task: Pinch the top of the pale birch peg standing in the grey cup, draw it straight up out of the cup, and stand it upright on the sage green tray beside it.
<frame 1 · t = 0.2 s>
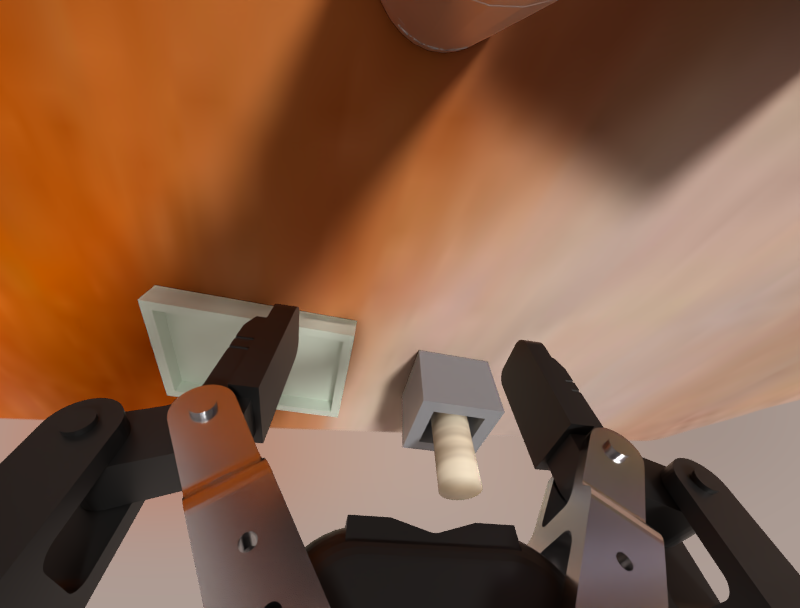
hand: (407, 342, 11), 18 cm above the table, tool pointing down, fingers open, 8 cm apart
grey cup: (442, 379, 39), on the table
sage tray: (261, 351, 35), on the table
birch peg: (450, 426, 33), in the grey cup
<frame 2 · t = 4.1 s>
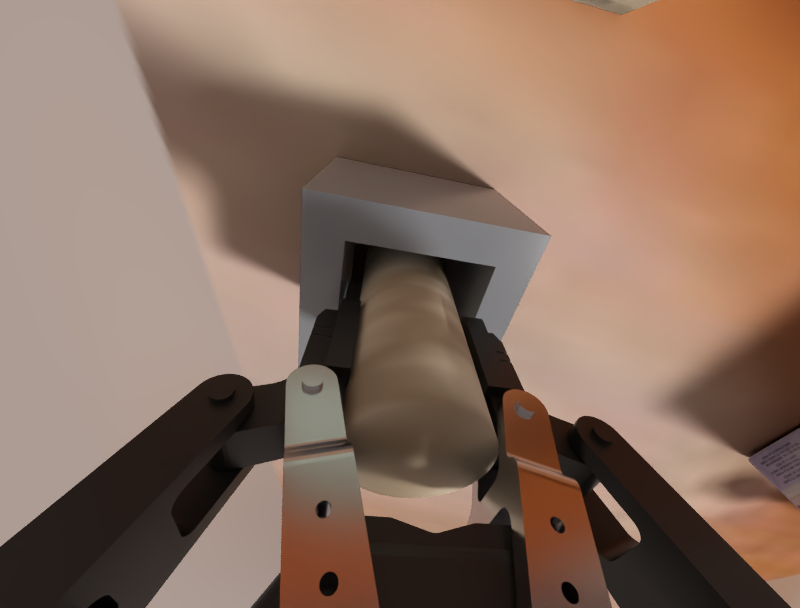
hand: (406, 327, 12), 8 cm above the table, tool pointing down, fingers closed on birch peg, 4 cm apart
grey cup: (402, 248, 18), on the table
birch peg: (406, 309, 13), in the grey cup, touching gripper
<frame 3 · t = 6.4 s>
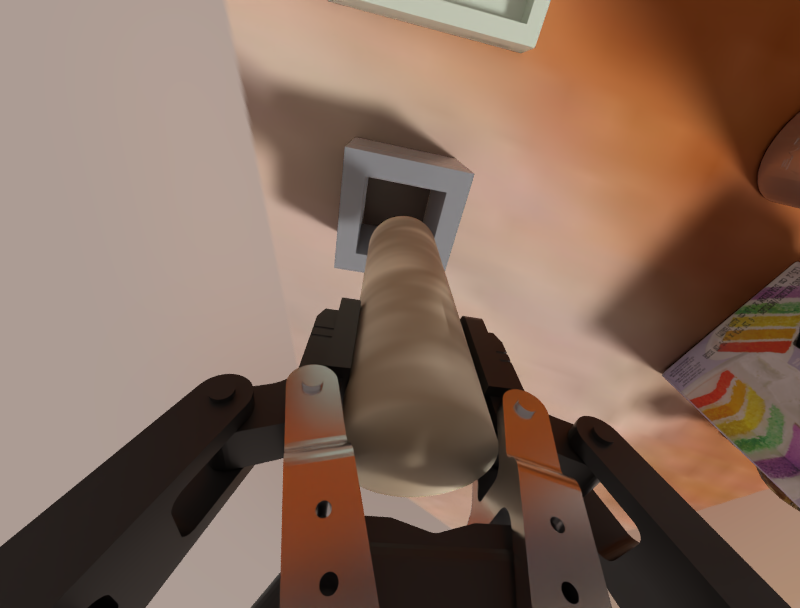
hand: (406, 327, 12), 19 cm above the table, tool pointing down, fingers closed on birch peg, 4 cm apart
cake pan box: (732, 323, 37), on the table
grey cup: (397, 199, 28), on the table
birch peg: (406, 309, 13), point 18 cm above the table, touching gripper
wooden mug: (740, 423, 49), on the table
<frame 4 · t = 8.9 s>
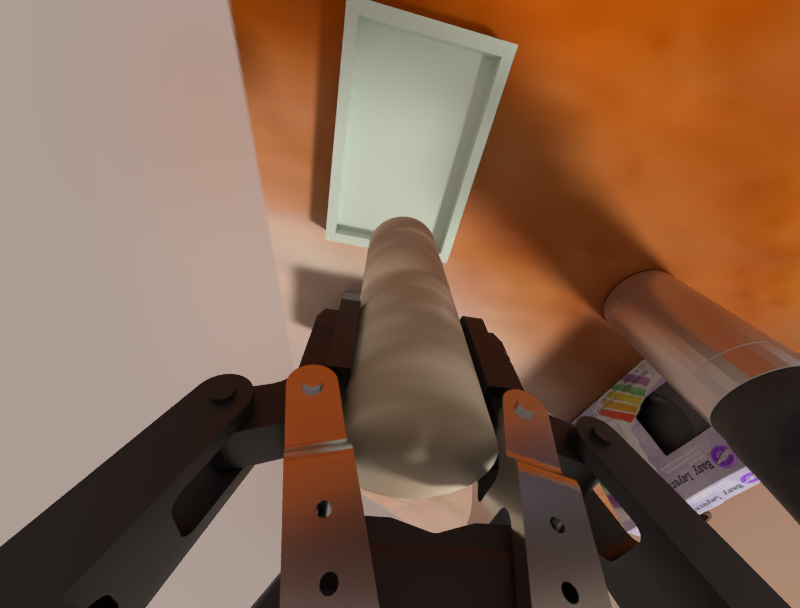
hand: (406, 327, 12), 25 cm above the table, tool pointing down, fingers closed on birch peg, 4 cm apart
cake pan box: (612, 393, 53), on the table
sage tray: (406, 153, 31), on the table
birch peg: (406, 310, 13), point 24 cm above the table, touching gripper
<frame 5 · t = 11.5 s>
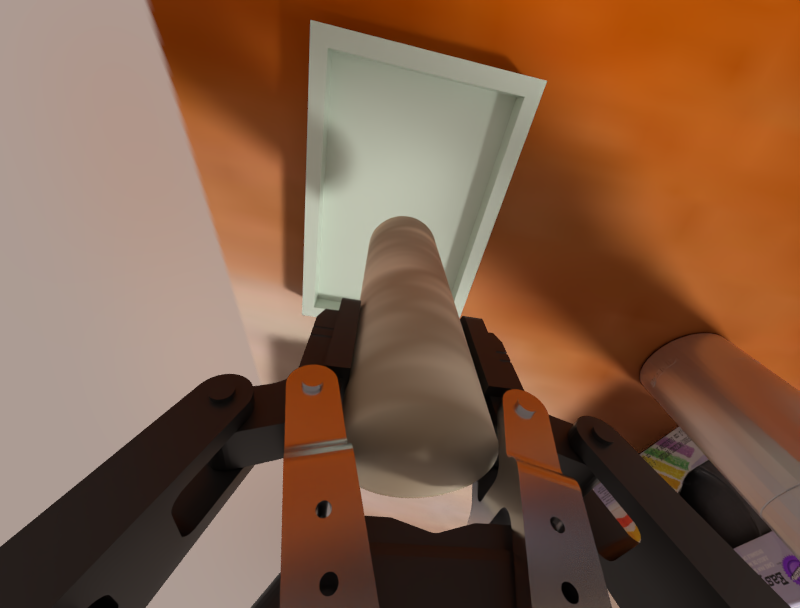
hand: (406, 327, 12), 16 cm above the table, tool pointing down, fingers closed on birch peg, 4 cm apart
cake pan box: (644, 456, 46), on the table
sage tray: (400, 211, 25), on the table
birch peg: (406, 309, 13), point 14 cm above the table, touching gripper
when the fingers open (10 cm above the table, at t = 13.7 s): birch peg stays where it is, resting on sage tray.
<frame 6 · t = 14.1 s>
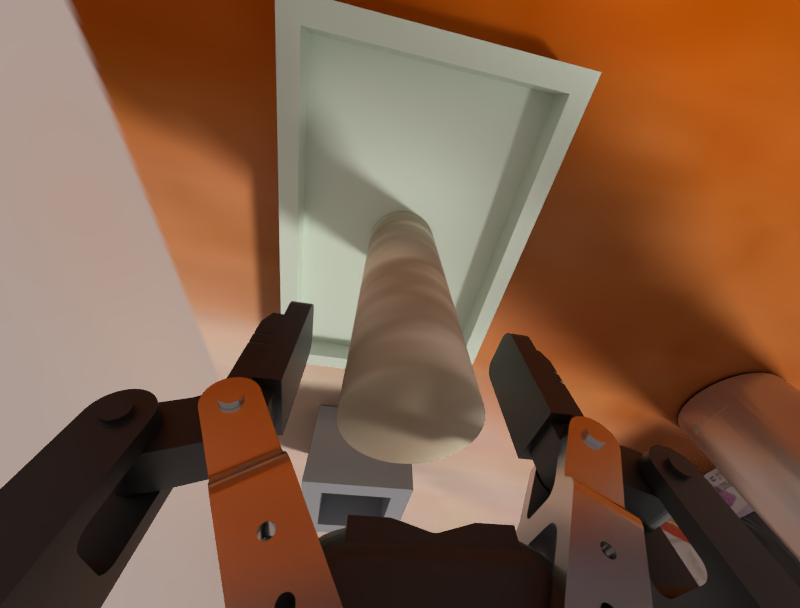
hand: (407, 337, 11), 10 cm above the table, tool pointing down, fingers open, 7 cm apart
cake pan box: (673, 496, 41), on the table
grey cup: (359, 436, 32), on the table
sage tray: (400, 237, 20), on the table
birch peg: (404, 297, 14), in the sage tray, point 8 cm above the table
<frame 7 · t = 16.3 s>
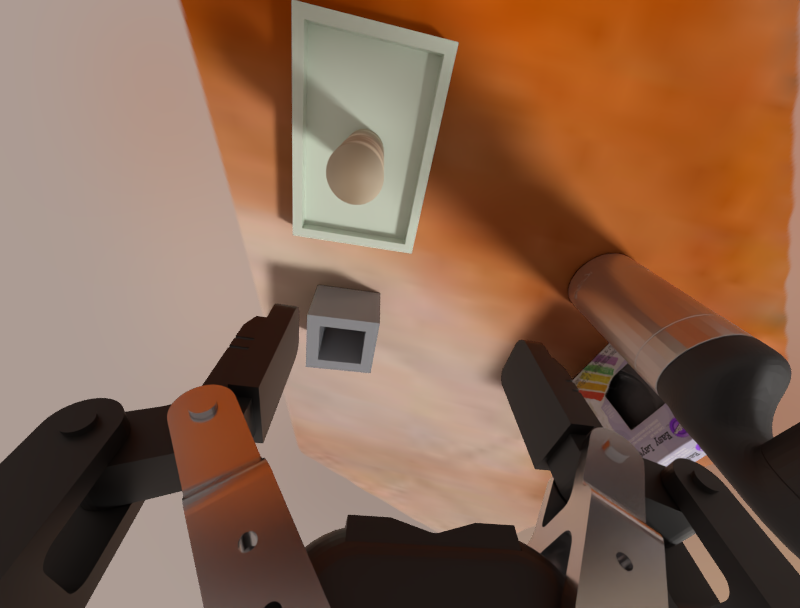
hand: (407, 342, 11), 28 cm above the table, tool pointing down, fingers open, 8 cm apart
cake pan box: (585, 374, 55), on the table
grey cup: (346, 314, 45), on the table
sage tray: (365, 149, 33), on the table
birch peg: (360, 160, 27), in the sage tray, point 8 cm above the table
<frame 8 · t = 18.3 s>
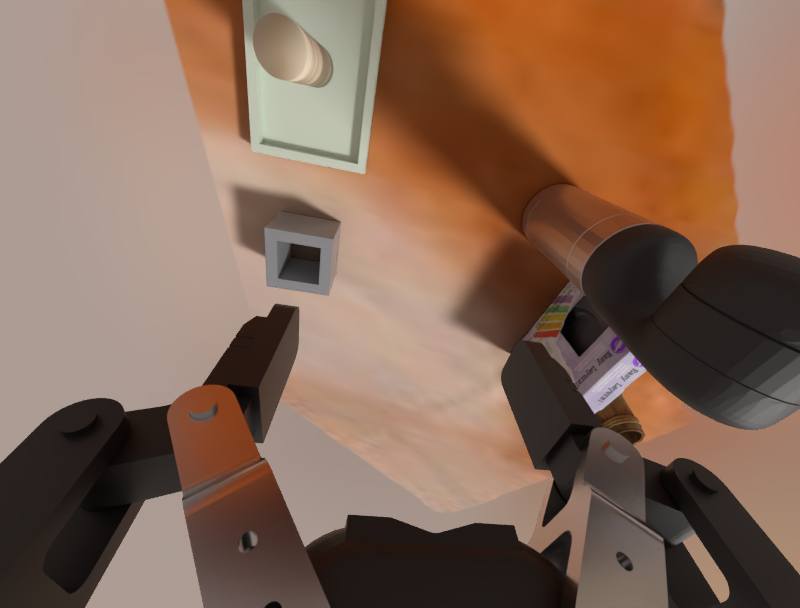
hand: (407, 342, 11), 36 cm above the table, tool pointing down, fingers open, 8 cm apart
cake pan box: (547, 319, 56), on the table
grey cup: (310, 243, 47), on the table
sage tray: (317, 66, 35), on the table
birch peg: (301, 58, 29), in the sage tray, point 8 cm above the table
wooden mug: (584, 392, 67), on the table
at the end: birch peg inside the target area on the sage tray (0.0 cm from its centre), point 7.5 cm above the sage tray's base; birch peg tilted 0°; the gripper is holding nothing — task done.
